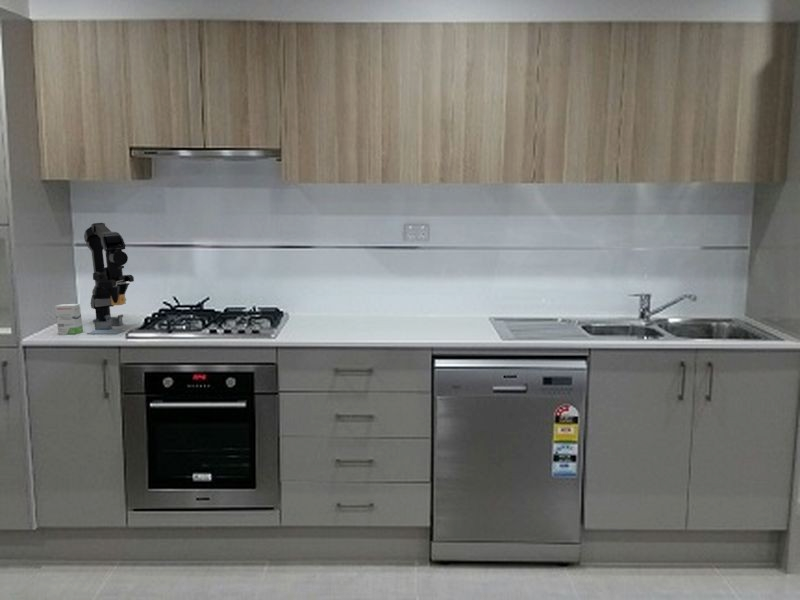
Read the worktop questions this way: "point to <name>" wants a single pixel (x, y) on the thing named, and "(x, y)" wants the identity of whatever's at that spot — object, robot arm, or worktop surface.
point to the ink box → (69, 319)
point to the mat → (105, 331)
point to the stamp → (111, 301)
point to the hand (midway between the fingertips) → (118, 302)
